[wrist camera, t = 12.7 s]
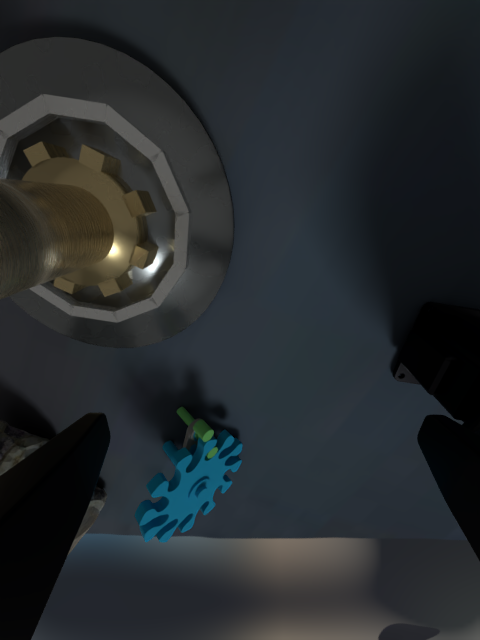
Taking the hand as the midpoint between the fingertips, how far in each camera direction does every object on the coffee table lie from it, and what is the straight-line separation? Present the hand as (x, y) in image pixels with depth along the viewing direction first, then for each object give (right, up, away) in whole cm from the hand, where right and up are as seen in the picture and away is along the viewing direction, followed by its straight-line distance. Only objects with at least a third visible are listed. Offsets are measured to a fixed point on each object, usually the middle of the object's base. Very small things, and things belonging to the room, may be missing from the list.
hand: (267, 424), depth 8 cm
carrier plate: (-10, +9, +10) cm, 17 cm away
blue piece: (-4, -9, +18) cm, 21 cm away
